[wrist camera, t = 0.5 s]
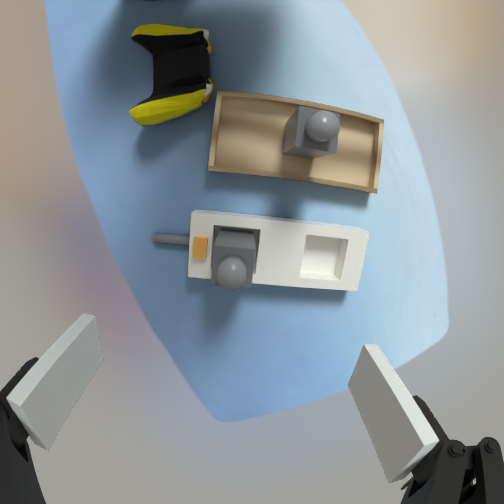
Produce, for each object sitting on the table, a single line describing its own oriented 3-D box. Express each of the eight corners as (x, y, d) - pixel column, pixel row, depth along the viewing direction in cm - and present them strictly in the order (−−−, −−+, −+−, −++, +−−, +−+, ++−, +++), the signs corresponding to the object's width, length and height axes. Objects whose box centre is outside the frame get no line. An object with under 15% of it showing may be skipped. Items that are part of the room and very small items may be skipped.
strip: (154, 206, 34) (144, 209, 30) (360, 227, 36) (372, 233, 32) (152, 264, 36) (143, 274, 33) (349, 282, 38) (359, 293, 34)
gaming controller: (142, 132, 32) (217, 120, 32) (126, 126, 26) (212, 110, 26) (142, 39, 28) (211, 26, 28) (129, 23, 22) (206, 6, 22)
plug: (285, 123, 31) (304, 98, 20) (316, 128, 31) (349, 108, 20) (282, 154, 32) (300, 143, 21) (313, 158, 32) (345, 151, 21)
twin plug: (221, 227, 35) (210, 252, 24) (253, 230, 35) (256, 257, 24) (218, 258, 36) (207, 295, 25) (249, 261, 36) (251, 299, 25)
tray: (219, 95, 31) (217, 90, 28) (376, 122, 32) (383, 119, 30) (210, 170, 33) (207, 170, 31) (369, 192, 34) (376, 193, 32)
